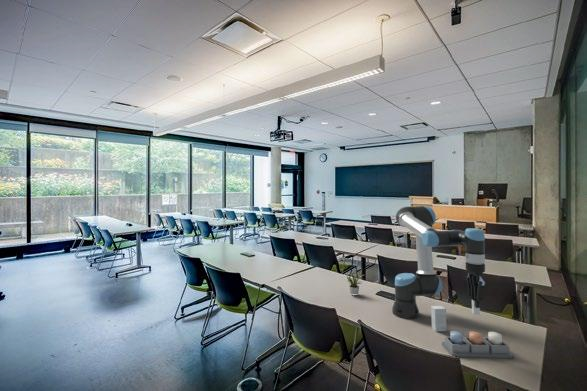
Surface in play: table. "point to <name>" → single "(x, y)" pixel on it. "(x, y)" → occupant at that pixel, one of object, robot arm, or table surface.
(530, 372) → the table surface
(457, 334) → the blue button
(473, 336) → the button terracotta
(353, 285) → the house plant
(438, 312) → the skincare box
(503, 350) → the tray
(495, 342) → the button cream
